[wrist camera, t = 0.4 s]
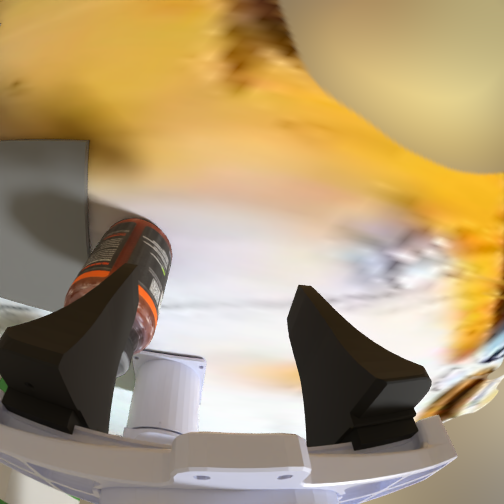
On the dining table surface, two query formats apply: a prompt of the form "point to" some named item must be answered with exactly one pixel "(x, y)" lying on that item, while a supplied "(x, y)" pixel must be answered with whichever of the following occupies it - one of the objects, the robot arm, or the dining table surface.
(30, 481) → the hardback book
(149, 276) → the supplement bottle
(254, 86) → the dining table surface
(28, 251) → the mat
